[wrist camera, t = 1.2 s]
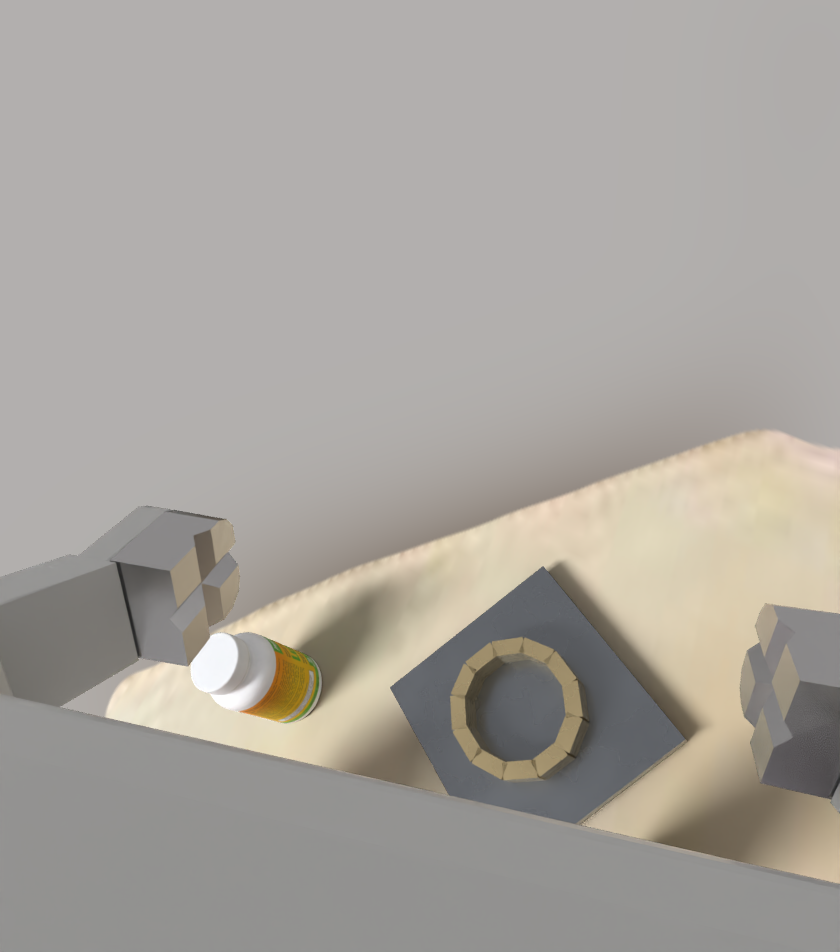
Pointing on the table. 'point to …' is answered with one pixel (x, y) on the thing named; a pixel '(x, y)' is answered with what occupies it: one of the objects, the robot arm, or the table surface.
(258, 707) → the supplement bottle
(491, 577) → the table surface
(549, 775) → the holder
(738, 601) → the table surface
